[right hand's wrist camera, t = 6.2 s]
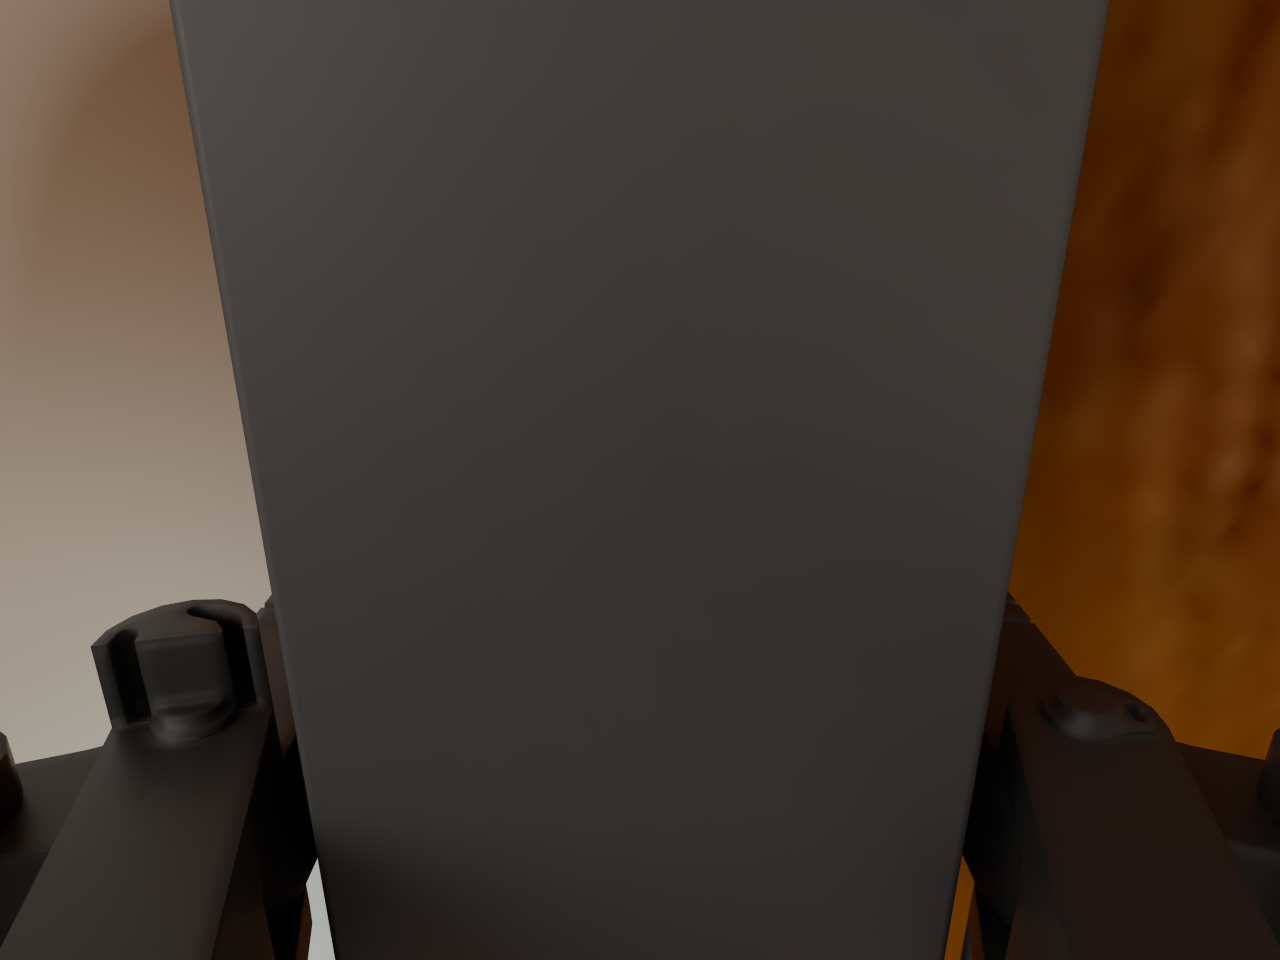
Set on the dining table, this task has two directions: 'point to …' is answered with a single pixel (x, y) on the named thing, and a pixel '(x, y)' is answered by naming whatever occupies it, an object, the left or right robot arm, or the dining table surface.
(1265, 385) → the dining table surface
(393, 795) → the bar
